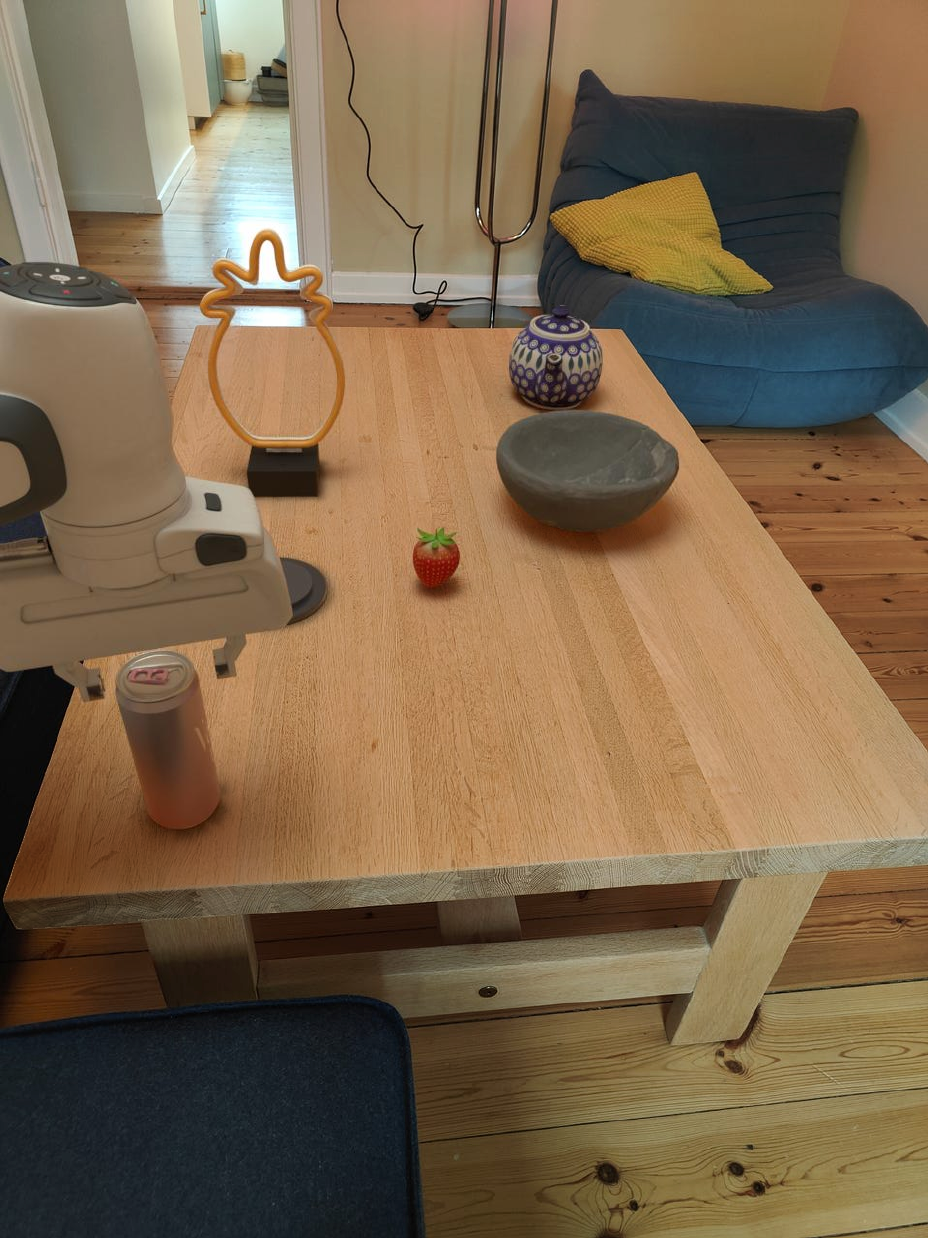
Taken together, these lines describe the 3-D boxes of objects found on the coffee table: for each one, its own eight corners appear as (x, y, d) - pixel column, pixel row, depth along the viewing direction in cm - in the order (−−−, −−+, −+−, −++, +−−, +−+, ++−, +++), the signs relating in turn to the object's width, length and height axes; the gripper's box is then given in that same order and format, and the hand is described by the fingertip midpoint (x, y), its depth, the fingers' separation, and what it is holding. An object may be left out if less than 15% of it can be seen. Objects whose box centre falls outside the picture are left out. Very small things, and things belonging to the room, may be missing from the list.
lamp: (218, 496, 111) (181, 239, 92) (226, 463, 118) (193, 218, 99) (348, 496, 113) (339, 244, 94) (348, 463, 120) (340, 222, 100)
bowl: (567, 453, 126) (577, 389, 120) (696, 516, 114) (714, 448, 108) (455, 505, 113) (459, 435, 107) (587, 582, 101) (600, 509, 95)
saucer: (222, 634, 90) (221, 624, 89) (213, 569, 99) (211, 560, 98) (335, 617, 93) (335, 607, 92) (317, 556, 102) (316, 547, 101)
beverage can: (156, 777, 75) (123, 647, 65) (226, 777, 75) (203, 647, 66) (141, 834, 70) (102, 702, 61) (215, 832, 71) (188, 701, 61)
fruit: (432, 568, 102) (434, 510, 97) (466, 586, 99) (470, 527, 94) (401, 587, 98) (402, 528, 93) (436, 606, 96) (438, 547, 91)
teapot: (517, 363, 152) (526, 277, 143) (602, 374, 150) (615, 288, 141) (493, 423, 132) (501, 328, 123) (590, 437, 131) (605, 341, 121)
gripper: (-64, 580, 50) (6, 740, 59) (286, 534, 56) (303, 688, 64) (-49, 523, 55) (14, 680, 64) (273, 485, 60) (290, 635, 69)
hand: (161, 683), depth 64 cm, fingers open, 8 cm apart
